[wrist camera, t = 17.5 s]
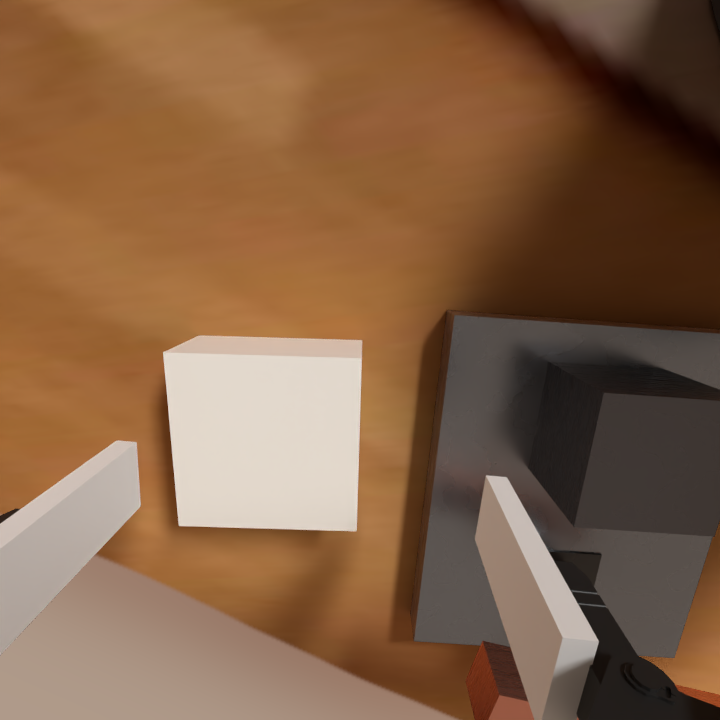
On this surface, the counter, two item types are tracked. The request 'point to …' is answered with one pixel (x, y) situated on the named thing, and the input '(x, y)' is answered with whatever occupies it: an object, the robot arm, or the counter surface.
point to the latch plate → (502, 449)
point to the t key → (516, 686)
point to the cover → (265, 431)
